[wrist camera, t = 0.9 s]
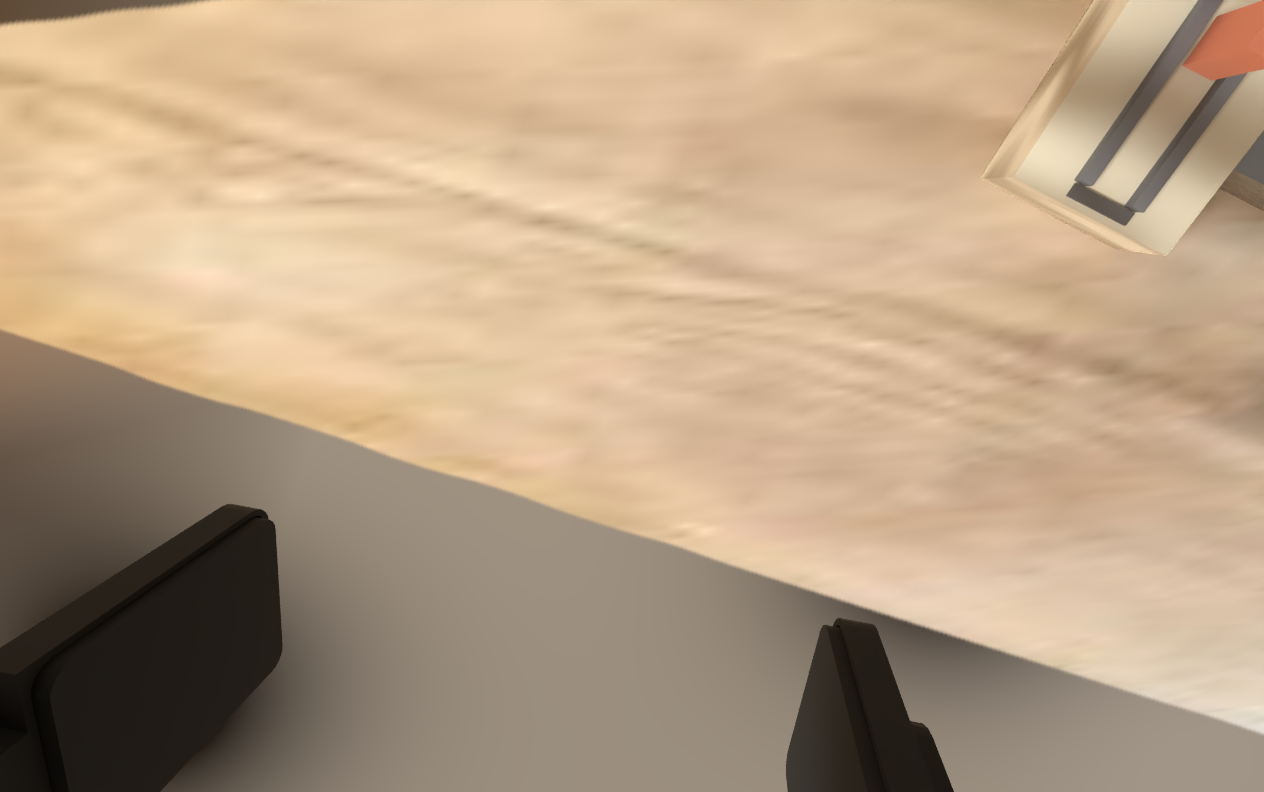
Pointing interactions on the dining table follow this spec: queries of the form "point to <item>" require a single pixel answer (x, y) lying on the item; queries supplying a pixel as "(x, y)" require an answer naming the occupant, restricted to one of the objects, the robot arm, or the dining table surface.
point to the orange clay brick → (1231, 44)
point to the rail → (1249, 176)
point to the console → (1131, 126)
